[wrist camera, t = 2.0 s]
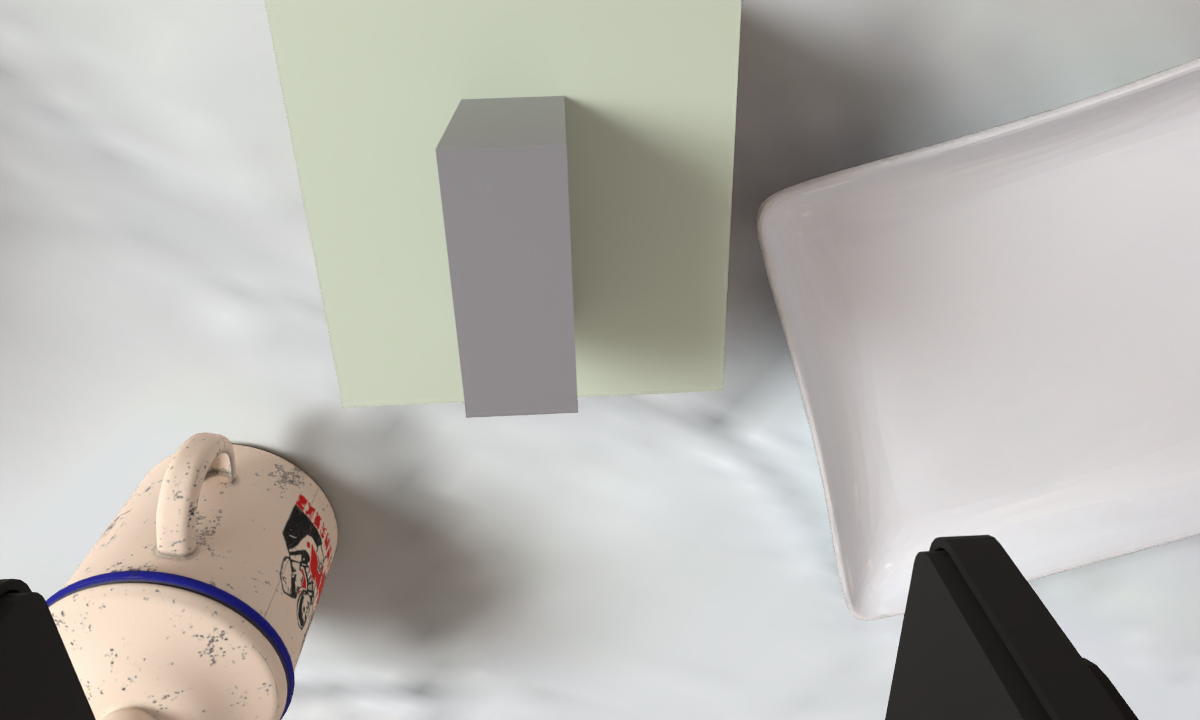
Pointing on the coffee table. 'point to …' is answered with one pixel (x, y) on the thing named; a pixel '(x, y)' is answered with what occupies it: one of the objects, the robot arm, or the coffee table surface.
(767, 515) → the coffee table surface
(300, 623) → the teacup with lid
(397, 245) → the lid
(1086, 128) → the salad plate
